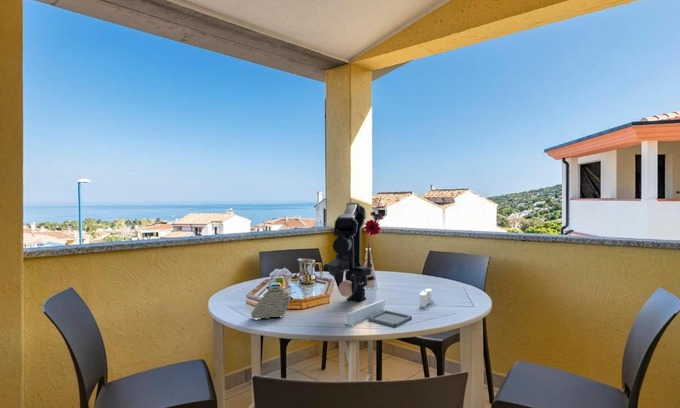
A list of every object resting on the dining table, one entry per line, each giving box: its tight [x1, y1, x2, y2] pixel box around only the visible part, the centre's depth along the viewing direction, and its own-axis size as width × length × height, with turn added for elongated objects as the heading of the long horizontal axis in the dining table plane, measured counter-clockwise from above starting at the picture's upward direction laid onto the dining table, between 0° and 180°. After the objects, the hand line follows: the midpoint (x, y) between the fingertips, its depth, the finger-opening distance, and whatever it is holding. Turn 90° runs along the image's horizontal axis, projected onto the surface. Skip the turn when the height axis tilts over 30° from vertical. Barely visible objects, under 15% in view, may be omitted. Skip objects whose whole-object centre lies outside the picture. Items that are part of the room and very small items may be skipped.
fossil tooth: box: [250, 285, 291, 319], centre depth 132 cm, size 12×6×15 cm
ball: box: [338, 279, 352, 298], centre depth 132 cm, size 6×6×6 cm
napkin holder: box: [418, 288, 433, 308], centre depth 147 cm, size 15×11×6 cm
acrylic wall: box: [344, 299, 388, 327], centre depth 130 cm, size 3×22×4 cm, turn 140°
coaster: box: [367, 310, 413, 328], centre depth 127 cm, size 11×11×1 cm
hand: (346, 292), depth 132 cm, fingers closed on ball, 6 cm apart
